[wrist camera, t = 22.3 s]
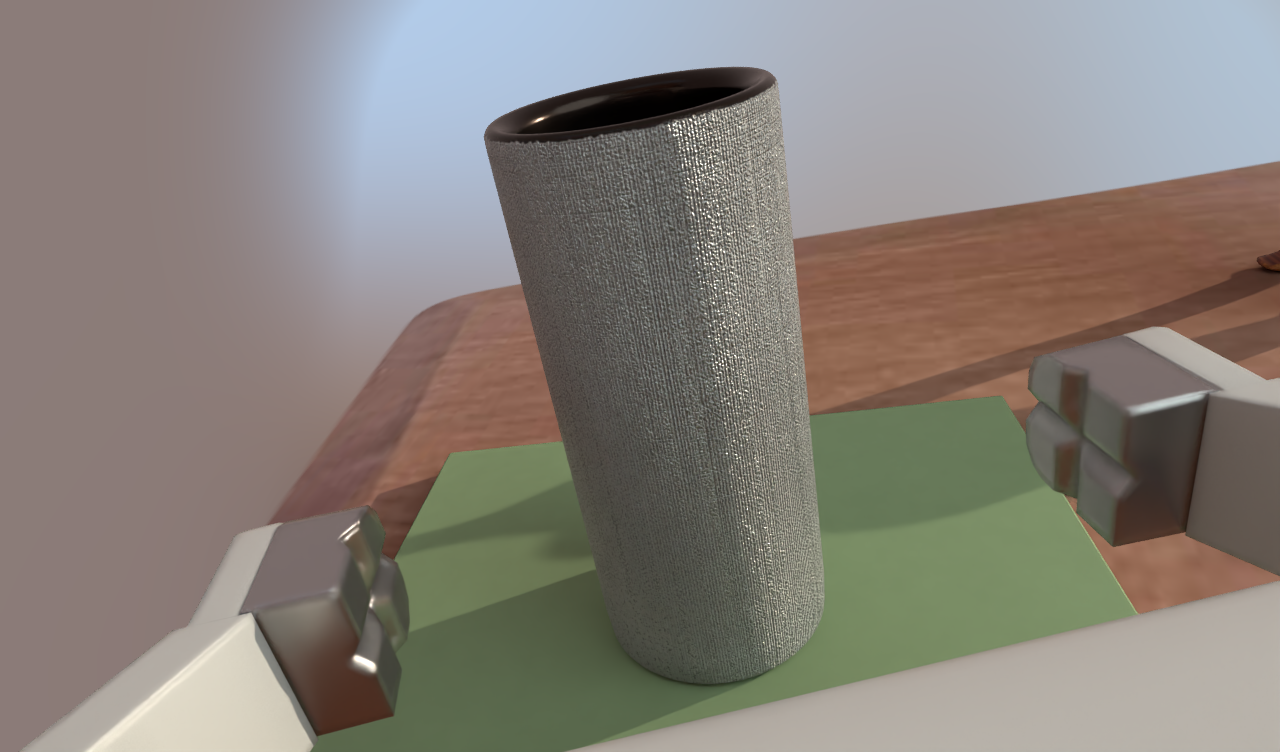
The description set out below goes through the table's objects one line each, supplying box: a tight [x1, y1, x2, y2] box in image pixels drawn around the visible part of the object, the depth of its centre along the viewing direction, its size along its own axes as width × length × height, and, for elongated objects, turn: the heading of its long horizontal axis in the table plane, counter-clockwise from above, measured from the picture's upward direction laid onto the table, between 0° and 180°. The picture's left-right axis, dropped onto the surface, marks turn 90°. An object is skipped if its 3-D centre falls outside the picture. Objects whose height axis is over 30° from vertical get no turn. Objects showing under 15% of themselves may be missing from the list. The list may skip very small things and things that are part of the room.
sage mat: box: [310, 396, 1138, 752], centre depth 17 cm, size 16×14×1 cm
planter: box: [484, 67, 825, 684], centre depth 15 cm, size 4×4×10 cm
